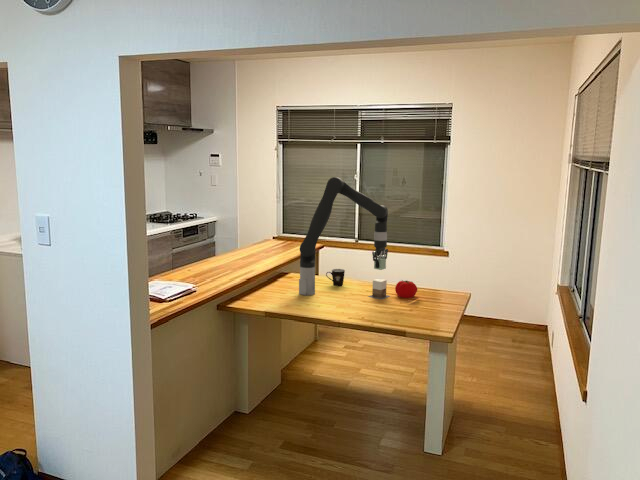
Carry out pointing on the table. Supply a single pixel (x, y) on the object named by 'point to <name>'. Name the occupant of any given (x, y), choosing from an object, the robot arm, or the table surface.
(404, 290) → the tomato
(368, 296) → the slate coaster
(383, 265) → the sage block
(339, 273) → the coffee mug
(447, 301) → the table surface
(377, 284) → the cream block
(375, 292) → the walnut block
